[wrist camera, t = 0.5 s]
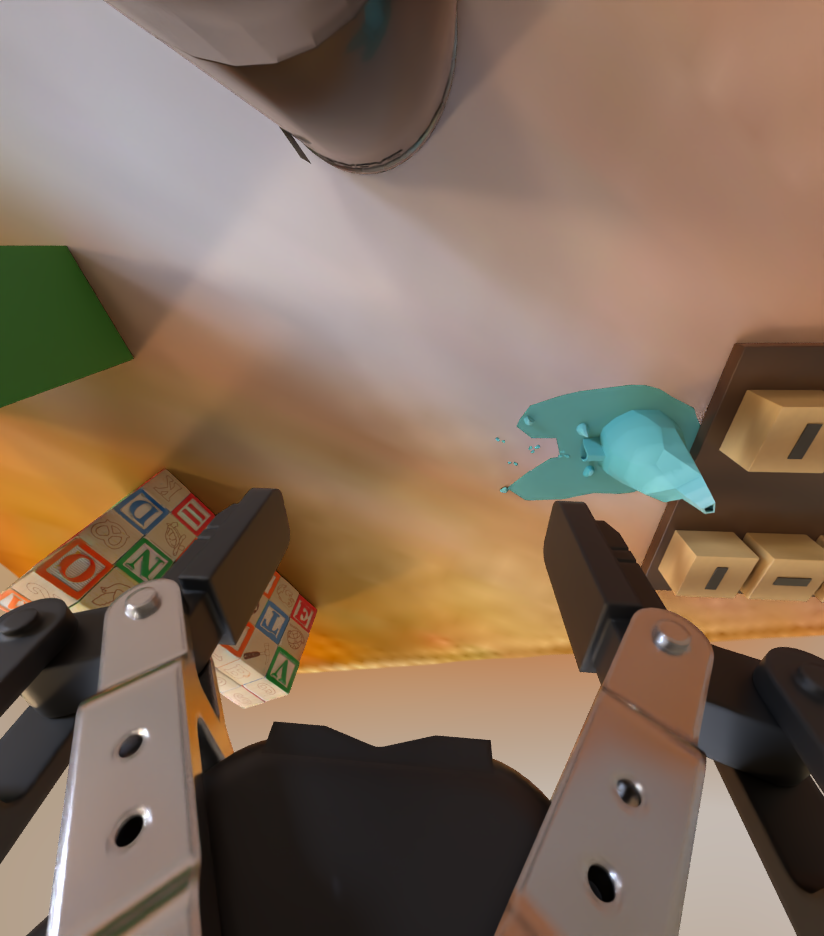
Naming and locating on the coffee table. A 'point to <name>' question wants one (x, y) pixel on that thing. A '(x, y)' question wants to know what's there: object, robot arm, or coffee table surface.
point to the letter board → (753, 484)
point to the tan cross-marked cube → (823, 591)
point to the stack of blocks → (150, 557)
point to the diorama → (615, 446)
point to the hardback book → (50, 323)
